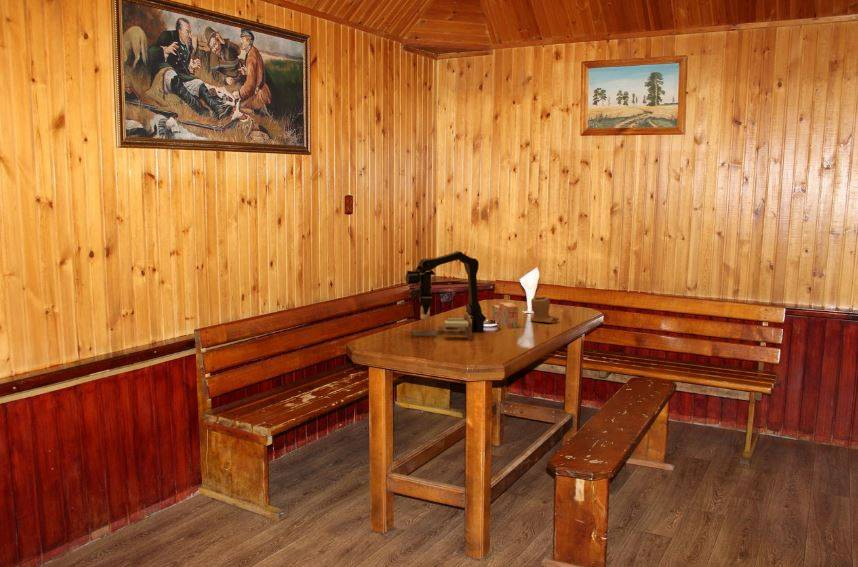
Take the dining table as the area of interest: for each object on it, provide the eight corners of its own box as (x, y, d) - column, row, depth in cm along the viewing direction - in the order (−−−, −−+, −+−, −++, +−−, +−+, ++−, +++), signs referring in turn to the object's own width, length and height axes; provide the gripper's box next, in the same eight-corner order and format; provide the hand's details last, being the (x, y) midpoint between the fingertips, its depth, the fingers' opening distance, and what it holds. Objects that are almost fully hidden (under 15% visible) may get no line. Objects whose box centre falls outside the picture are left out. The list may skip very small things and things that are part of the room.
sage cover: (467, 323, 376) (467, 318, 376) (468, 326, 368) (468, 321, 368) (444, 323, 375) (444, 318, 375) (445, 326, 368) (445, 320, 368)
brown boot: (526, 322, 421) (527, 296, 419) (534, 319, 432) (535, 294, 429) (551, 325, 414) (552, 299, 412) (559, 322, 424) (560, 296, 422)
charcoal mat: (435, 332, 389) (435, 330, 389) (436, 337, 377) (436, 335, 377) (412, 332, 388) (412, 330, 388) (413, 337, 376) (413, 334, 376)
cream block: (429, 317, 384) (429, 305, 383) (429, 318, 379) (429, 307, 378) (420, 317, 383) (420, 305, 383) (420, 318, 379) (421, 307, 378)
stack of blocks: (491, 321, 424) (492, 300, 422) (501, 320, 426) (502, 299, 424) (507, 328, 404) (508, 306, 402) (517, 328, 406) (518, 305, 404)
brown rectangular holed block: (466, 330, 395) (467, 314, 393) (471, 341, 370) (472, 323, 369) (437, 330, 394) (438, 314, 393) (440, 340, 369) (441, 323, 368)
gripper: (409, 280, 388) (409, 310, 390) (410, 285, 369) (410, 316, 371) (430, 281, 388) (430, 310, 390) (432, 286, 370) (432, 316, 372)
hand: (425, 313), depth 381 cm, fingers closed on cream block, 4 cm apart
